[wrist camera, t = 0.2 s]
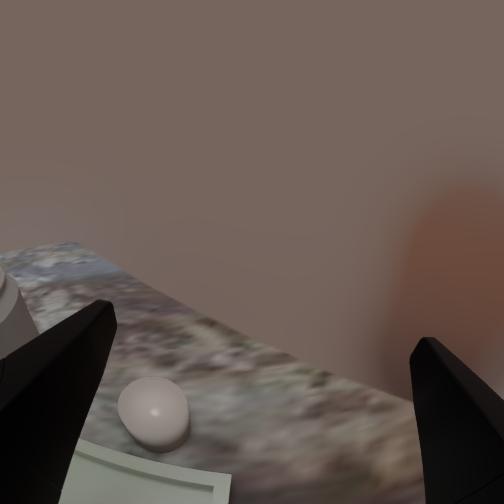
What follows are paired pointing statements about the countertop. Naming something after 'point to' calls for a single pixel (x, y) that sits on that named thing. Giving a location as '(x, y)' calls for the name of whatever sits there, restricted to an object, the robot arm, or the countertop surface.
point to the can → (13, 317)
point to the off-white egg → (155, 414)
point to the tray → (137, 480)
